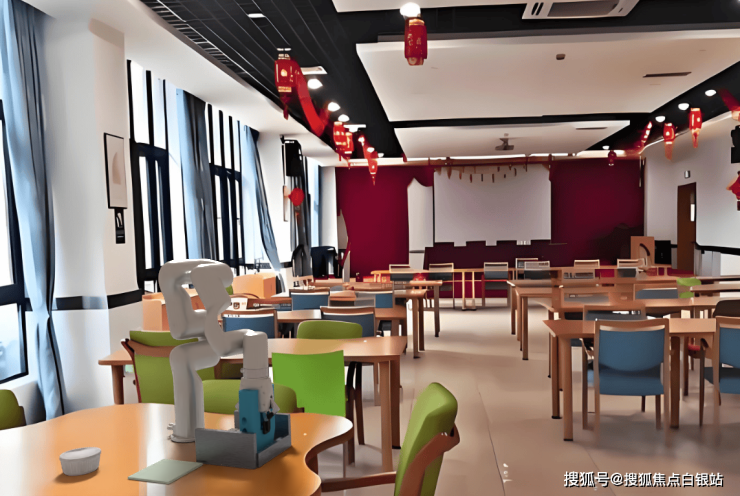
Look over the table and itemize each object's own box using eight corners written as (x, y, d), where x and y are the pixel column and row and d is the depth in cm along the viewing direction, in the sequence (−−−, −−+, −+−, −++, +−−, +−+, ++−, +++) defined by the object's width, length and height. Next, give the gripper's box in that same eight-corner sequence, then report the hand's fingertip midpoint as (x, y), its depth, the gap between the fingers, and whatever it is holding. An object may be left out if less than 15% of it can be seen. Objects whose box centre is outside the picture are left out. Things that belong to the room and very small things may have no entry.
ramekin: (90, 461, 189) (90, 444, 189) (109, 468, 182) (108, 450, 182) (53, 472, 180) (52, 454, 180) (70, 480, 173) (70, 461, 173)
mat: (127, 479, 172) (127, 476, 172) (163, 460, 186) (163, 458, 186) (168, 484, 167) (168, 481, 167) (202, 465, 181) (202, 463, 181)
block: (252, 460, 182) (250, 392, 182) (238, 458, 185) (237, 391, 184) (276, 448, 193) (275, 383, 193) (264, 445, 195) (262, 382, 195)
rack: (196, 462, 183) (194, 429, 183) (237, 440, 204) (236, 409, 204) (256, 469, 176) (254, 434, 176) (292, 445, 197) (291, 413, 197)
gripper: (225, 374, 188) (226, 433, 188) (274, 377, 182) (276, 438, 182) (238, 369, 195) (240, 426, 195) (287, 371, 189) (288, 431, 189)
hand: (257, 431), depth 189 cm, fingers closed on block, 5 cm apart
